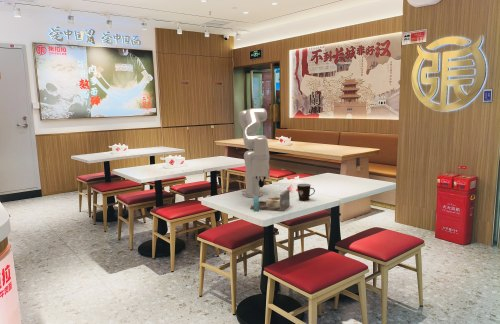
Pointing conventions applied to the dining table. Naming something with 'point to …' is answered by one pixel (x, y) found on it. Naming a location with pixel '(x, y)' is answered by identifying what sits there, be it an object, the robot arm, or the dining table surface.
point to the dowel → (256, 203)
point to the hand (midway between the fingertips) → (261, 186)
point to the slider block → (273, 202)
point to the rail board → (283, 203)
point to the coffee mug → (304, 191)
